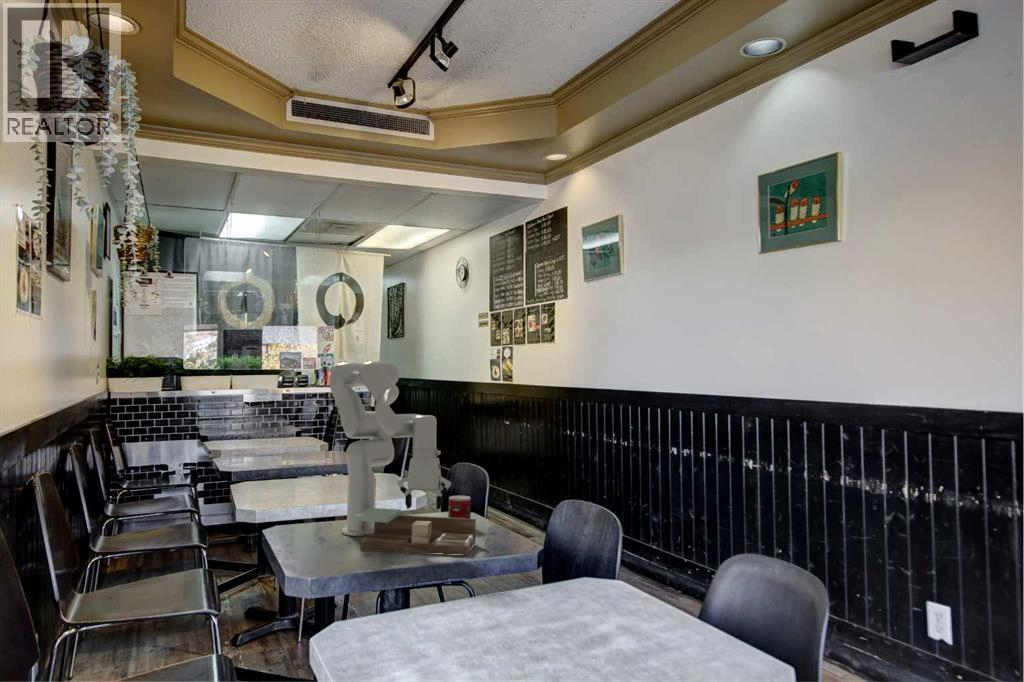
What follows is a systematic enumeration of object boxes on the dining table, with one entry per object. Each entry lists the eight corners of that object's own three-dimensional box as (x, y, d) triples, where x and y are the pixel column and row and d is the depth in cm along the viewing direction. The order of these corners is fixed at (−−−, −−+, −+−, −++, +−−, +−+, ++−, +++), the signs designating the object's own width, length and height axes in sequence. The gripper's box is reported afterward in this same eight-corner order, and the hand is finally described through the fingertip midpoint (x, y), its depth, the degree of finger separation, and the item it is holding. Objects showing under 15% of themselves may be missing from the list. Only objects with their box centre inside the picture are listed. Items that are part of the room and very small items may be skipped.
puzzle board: (374, 538, 219) (375, 513, 219) (475, 544, 214) (475, 518, 215) (360, 549, 205) (360, 522, 205) (466, 556, 201) (467, 528, 201)
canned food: (445, 526, 239) (446, 496, 240) (465, 524, 243) (466, 494, 243) (452, 531, 232) (453, 499, 233) (473, 529, 236) (474, 498, 236)
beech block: (415, 545, 211) (416, 520, 212) (430, 546, 211) (431, 521, 211) (411, 549, 206) (412, 524, 207) (426, 550, 206) (427, 524, 206)
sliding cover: (368, 512, 220) (368, 507, 220) (400, 514, 218) (400, 509, 218) (354, 520, 207) (354, 515, 207) (388, 522, 205) (388, 517, 205)
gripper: (453, 453, 213) (453, 506, 211) (401, 452, 215) (401, 505, 214) (448, 455, 205) (447, 511, 204) (394, 454, 207) (394, 509, 206)
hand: (423, 508), depth 209 cm, fingers open, 9 cm apart
